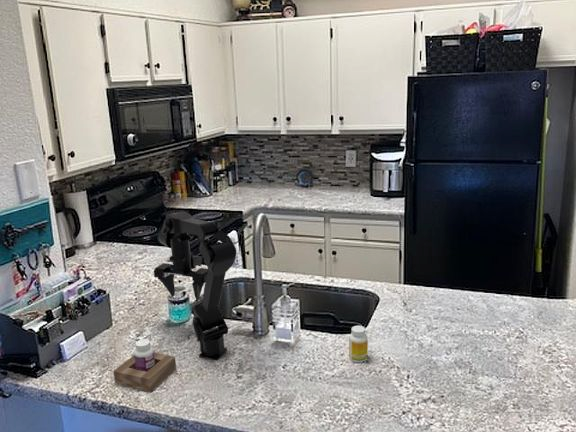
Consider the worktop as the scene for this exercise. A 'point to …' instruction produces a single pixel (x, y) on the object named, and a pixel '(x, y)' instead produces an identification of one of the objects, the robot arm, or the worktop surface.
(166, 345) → the worktop surface
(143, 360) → the pill bottle
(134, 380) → the socket block
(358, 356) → the supplement bottle
